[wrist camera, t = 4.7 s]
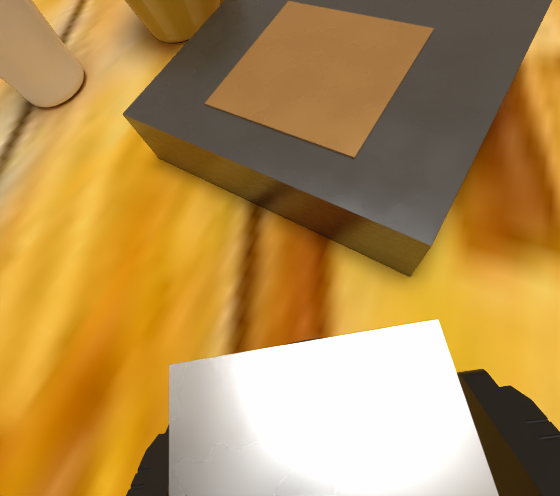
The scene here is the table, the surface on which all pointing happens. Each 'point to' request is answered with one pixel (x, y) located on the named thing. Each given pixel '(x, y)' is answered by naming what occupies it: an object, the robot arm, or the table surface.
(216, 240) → the table surface
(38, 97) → the white tube
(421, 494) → the aluminium block
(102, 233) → the table surface
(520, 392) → the robot arm
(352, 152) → the steel plate
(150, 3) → the plant pot
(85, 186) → the table surface
